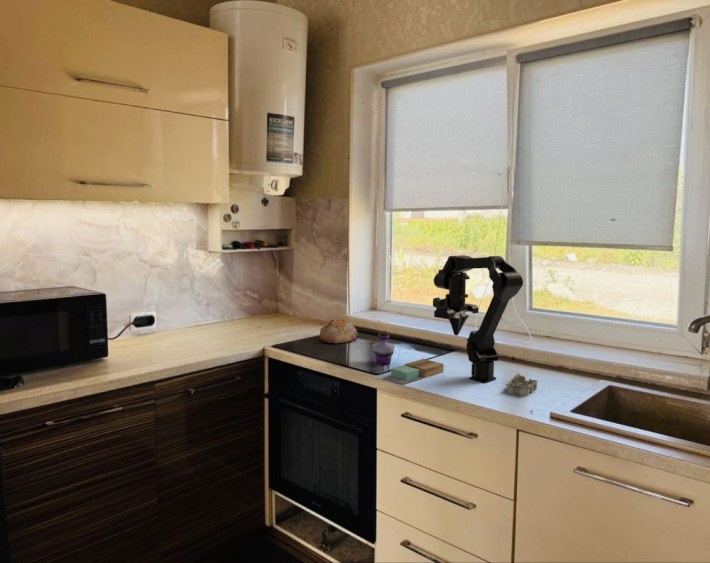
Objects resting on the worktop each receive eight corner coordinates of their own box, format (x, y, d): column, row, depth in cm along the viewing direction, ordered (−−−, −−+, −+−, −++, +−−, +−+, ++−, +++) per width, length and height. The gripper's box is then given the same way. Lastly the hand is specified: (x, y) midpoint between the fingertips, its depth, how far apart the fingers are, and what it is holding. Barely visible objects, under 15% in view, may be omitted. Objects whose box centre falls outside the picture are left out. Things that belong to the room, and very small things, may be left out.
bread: (316, 346, 231) (314, 323, 230) (325, 336, 251) (324, 315, 250) (354, 345, 229) (352, 322, 228) (360, 335, 248) (359, 313, 247)
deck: (443, 372, 190) (443, 363, 190) (424, 378, 183) (425, 369, 183) (423, 366, 196) (423, 358, 196) (404, 372, 190) (404, 363, 189)
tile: (418, 376, 183) (419, 369, 183) (406, 380, 179) (406, 373, 179) (403, 372, 189) (403, 365, 188) (391, 375, 185) (391, 368, 184)
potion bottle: (398, 362, 203) (398, 330, 202) (390, 367, 195) (390, 334, 194) (377, 359, 207) (377, 328, 205) (367, 365, 199) (368, 332, 198)
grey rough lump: (518, 384, 177) (518, 372, 176) (540, 389, 172) (541, 376, 172) (502, 392, 169) (503, 379, 169) (526, 397, 164) (526, 384, 164)
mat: (423, 378, 182) (423, 377, 182) (403, 384, 176) (403, 383, 176) (402, 372, 189) (402, 371, 189) (382, 378, 182) (382, 377, 182)
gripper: (454, 286, 204) (453, 328, 205) (422, 291, 191) (421, 335, 193) (480, 289, 196) (478, 332, 197) (448, 294, 183) (447, 340, 185)
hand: (456, 335), depth 193 cm, fingers closed
